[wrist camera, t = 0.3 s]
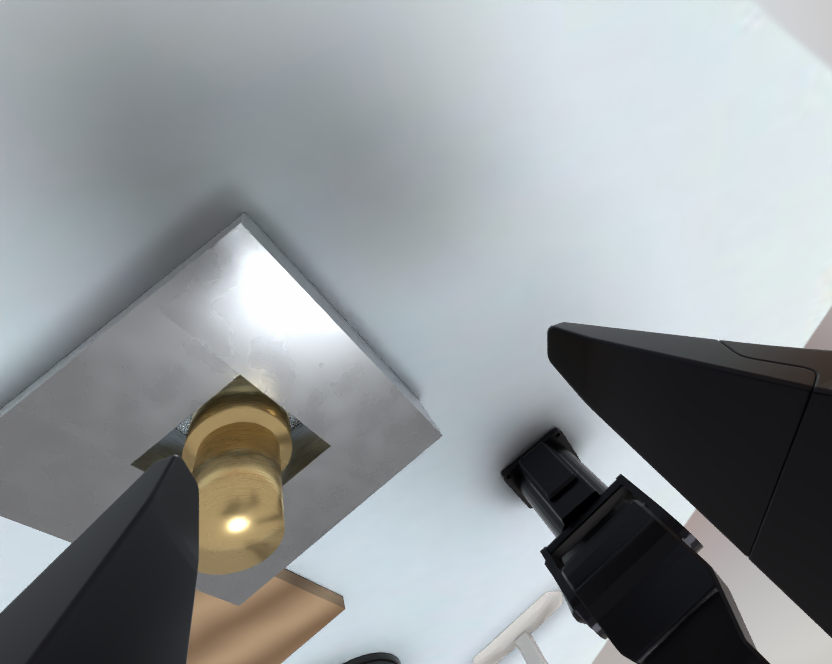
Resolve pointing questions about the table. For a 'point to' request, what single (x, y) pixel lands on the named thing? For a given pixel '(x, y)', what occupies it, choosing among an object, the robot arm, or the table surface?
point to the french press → (375, 659)
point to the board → (260, 622)
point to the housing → (196, 384)
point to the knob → (238, 476)
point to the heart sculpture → (522, 633)
